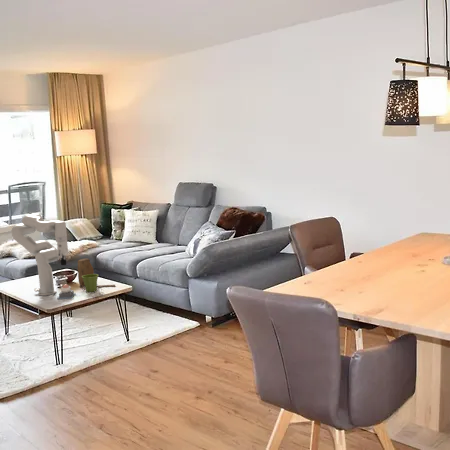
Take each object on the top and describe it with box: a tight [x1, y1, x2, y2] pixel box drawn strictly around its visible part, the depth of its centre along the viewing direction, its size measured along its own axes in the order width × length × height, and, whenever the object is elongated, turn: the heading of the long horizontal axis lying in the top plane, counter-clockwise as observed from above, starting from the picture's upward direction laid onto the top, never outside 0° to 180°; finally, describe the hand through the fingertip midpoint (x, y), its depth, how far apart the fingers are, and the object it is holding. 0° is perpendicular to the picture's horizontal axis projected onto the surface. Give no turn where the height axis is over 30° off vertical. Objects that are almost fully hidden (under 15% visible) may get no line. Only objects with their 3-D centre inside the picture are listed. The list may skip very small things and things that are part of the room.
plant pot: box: [82, 273, 99, 293], centre depth 394 cm, size 12×12×11 cm
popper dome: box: [60, 283, 72, 293], centre depth 381 cm, size 6×6×8 cm
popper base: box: [57, 289, 76, 300], centre depth 382 cm, size 10×10×4 cm
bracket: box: [97, 284, 116, 288], centre depth 404 cm, size 15×3×1 cm, turn 91°
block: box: [77, 258, 95, 287], centre depth 412 cm, size 11×8×20 cm
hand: (63, 264), depth 379 cm, fingers closed
